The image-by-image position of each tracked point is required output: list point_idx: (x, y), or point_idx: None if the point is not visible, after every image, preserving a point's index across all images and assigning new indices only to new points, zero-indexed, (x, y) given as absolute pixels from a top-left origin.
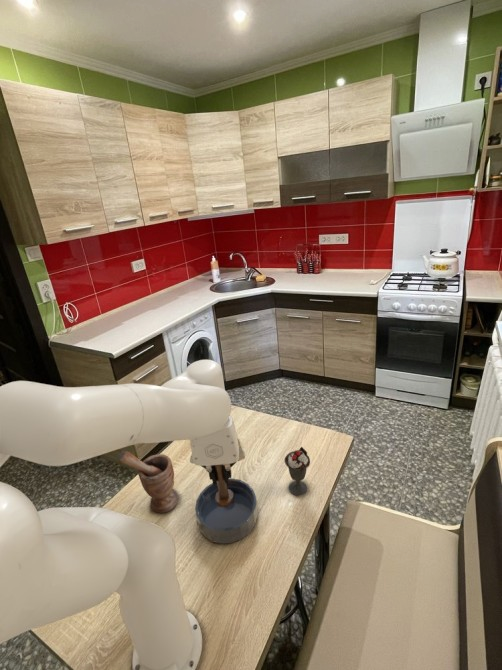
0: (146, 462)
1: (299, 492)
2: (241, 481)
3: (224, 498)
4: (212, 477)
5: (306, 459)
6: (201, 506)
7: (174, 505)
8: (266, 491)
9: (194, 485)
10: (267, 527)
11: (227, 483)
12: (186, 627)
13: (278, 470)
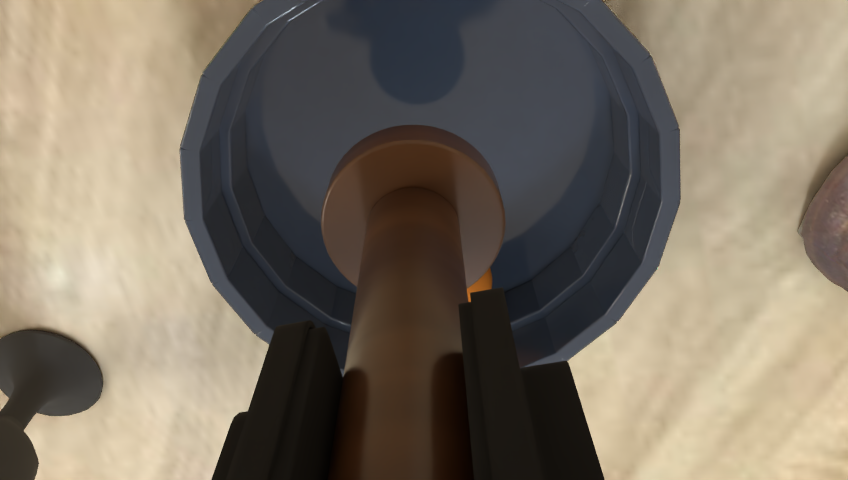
0: None
1: (21, 348)
2: None
3: (394, 195)
4: (512, 397)
5: None
6: (629, 179)
7: (828, 183)
8: (229, 337)
9: (701, 334)
10: (141, 103)
11: (285, 328)
12: None
13: (201, 462)
